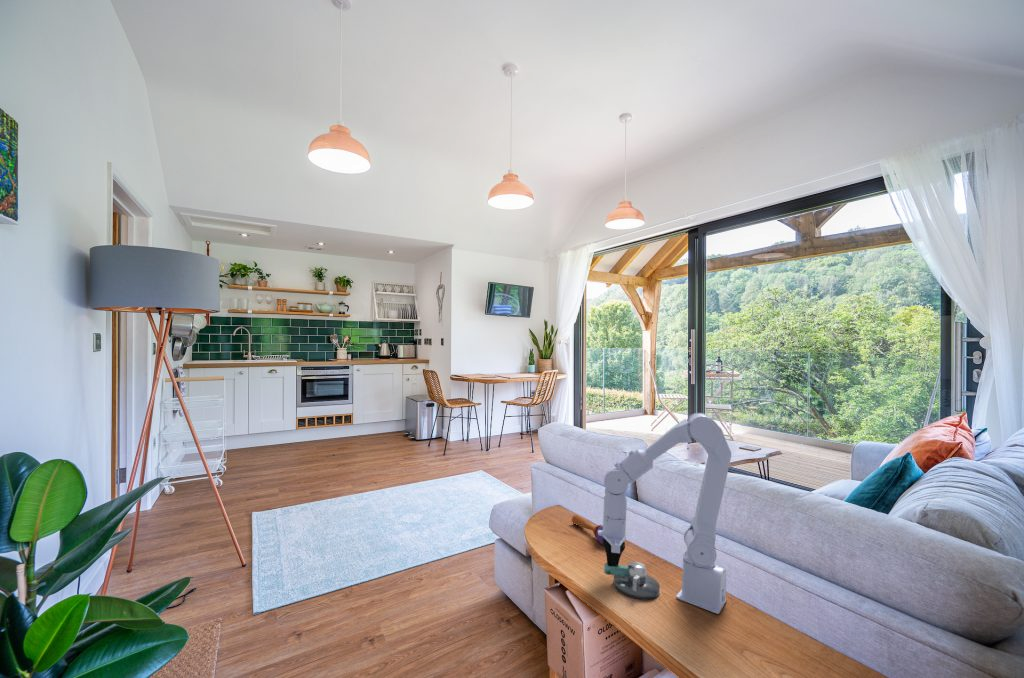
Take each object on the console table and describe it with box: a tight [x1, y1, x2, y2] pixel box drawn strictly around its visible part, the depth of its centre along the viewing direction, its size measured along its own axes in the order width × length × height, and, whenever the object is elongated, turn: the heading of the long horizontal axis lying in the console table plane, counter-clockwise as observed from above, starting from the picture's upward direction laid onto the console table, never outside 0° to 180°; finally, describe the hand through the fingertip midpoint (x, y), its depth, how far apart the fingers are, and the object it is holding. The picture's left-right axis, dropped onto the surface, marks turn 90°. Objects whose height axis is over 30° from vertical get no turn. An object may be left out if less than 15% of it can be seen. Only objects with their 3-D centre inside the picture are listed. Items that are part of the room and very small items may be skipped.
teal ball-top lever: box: [603, 560, 647, 585], centre depth 107 cm, size 10×4×4 cm, turn 79°
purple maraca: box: [571, 514, 604, 546], centre depth 138 cm, size 6×6×20 cm
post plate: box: [613, 574, 661, 601], centre depth 106 cm, size 11×11×4 cm
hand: (612, 570), depth 109 cm, fingers closed, pressing on teal ball-top lever
